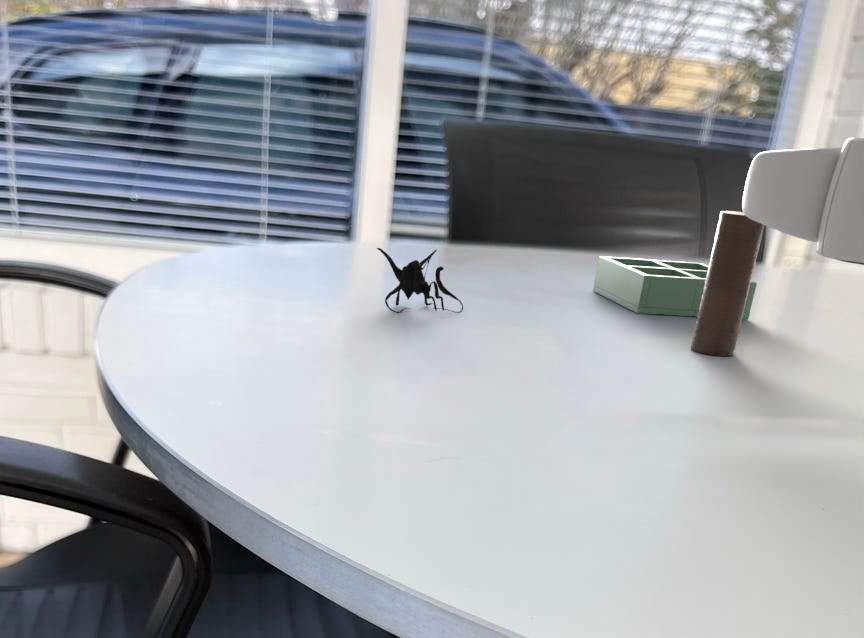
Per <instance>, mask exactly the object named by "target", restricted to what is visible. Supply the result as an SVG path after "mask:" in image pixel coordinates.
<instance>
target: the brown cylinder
mask: <svg viewBox="0 0 864 638" xmlns="http://www.w3.org/2000/svg"><path fill="white" fill-rule="evenodd" d="M764 228H765V225H763V224H761V223H758V222H756V221H754V220H751V219H749V218H748V217H747V216H745V214H744V213H743V211H736V210H735V211H734V210H721V211H720V213H719V217H718V221H717V225H716V231H715V235H714V240H713V245H712V249H711V253H710V258H709V263H708V265H709V267H708V271H707V276H706V280H705V285H704V289H703V294H702V299H701V303H700V308H699V312H698V317H696V321H695V327H694V331H693V336H692V341H691V345H690V349H691V350H692V351H694V352H696V353H699V354H704V355H707V354H708V356H714V357H731V356H733V355H734V354H735V351H736V347H737V343H738V342H737V341H738V338H739V334H740V329H741V325H742V321H743V319H742V317H743V313H744V309H745V305H746V301H747V296H748V292H749V288H750V284H751V281H753V276H754V271H755V266H756V262H757V259H758V254H759V250H760V245H761V242H762V237H763V234H764Z"/></svg>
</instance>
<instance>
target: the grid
mask: <svg viewBox="0 0 864 638" xmlns="http://www.w3.org/2000/svg"><path fill="white" fill-rule="evenodd" d="M708 267H709V264H706V263H703V262H694V261H693V262H692V261H677V260H663V259H661V260H660V259H646V258H634V257H633V258H632V257H619V256H604V255H599V256H598V259H597V266H596V271H595V277H594V283H593V289H592V291H593V292H594V293H596V294H598V295H600V296H602V297H605V298H606V299H608V300H610V301H612V302H614V303H616V304H618V305H620V306H622V307H624V308H625V309H628V310H630V311H631V312H634V313H636V314H640V315H656V314H664V315H663V316H674V315H676V316H677V315H678V316H677V317H693V316H694V317H695V318H697V317H698V312H699V308H700V303H701V299H702V294H703V289H704V285H705V280H706V276H707V271H708ZM757 284H758V283H757V282H755V281H754V280H751V284H750V288H749V292H748V296H747V301H746V305H745V309H744V313H743V317H742V320H746V321H747V320H748V321H749V318H750V313H751V308H752V305H753V300H754V297H755V293H756V288H757ZM665 314H666V315H665Z"/></svg>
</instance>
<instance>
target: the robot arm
mask: <svg viewBox="0 0 864 638" xmlns="http://www.w3.org/2000/svg"><path fill="white" fill-rule="evenodd" d="M743 190H744V191H743V195H742V202H741V210H742V212H743V213H744V214H745V216H747V217H748V218H749V219H751V220H754V221H756V222H758V223H761V224H763V225H764V227H768V228H769V229H773V230H775V231H778V232H781V233H783V234H785V235H789V236H792V237H795V238H797V239H801V240H805V241H808V242H812V243H816V248H815V249H816V250H815V251H816V253H817V254H818V255H819V256H821V257H824V258H827V259H832V260H837V261H840V262H844V263H848V264H849V263H850V264H856V265H862V266H864V137H856V136H855V137H854V136H851V137H848V138H847V139H846V140H845V141H844V143H843V146H842V147H813V148H811V147H810V148H791V149H775V150H766V151H762V152H759V153H757V154H756V155H755V157H754V158H753V160H752V161H751V163H750V166H749V170H748V172H747V177H746V180H745V184H744V189H743Z"/></svg>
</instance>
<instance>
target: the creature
mask: <svg viewBox="0 0 864 638" xmlns="http://www.w3.org/2000/svg"><path fill="white" fill-rule="evenodd" d="M376 250H378V251H379V252H380V253H382V255H383V256H384V257H385V259H386V260H387V261H388V263H389V265H390V267H391V269H392V271H393V274H394V276H395V278H396V279H397V281H398V282H399V284H398V285H397V286H396V287H395V288H394V289H392V290H391V291H390V292H388V294H387V295H386V296H385V299H384V303H385V306H386V307H387V309H388V310H390V311H391V312H393V313H395V314H400V313H402V312H403V311H404V310H409V309H412V308H411V307H405V306H402V305H400V294H401V291H402V292H403V293H404V295H405V298H406V299H407V300H409V299H410V298H411V297H412V295H413V294H414V293H415V295H417V296H418V295H421V294H423V298H424V299H423V300H424V304H425V306H428V307H429V306H431V305H433V308H432V309H434V311H436V312H437V311H438V310H442V311H443V312H444V311H445V310H446V311H449V312H451V313H455V314H460V313H462V312H463V310H464V305H463V303H462V301H461V300H460V298H458V297H457V296H456V295H454V294H453V293H452V292H450V291H449V290H448V289H447V288H446V287H445V286H444V284H443V282H442V280H441V271H444V269H445V268H444V267H443V266H438V267H437V268H436V269H435V274H434V275H435V281H434V280H433V281H431V282H430V283H428V281H426V274H427V271H428V267H429V263H430V261H431V259H432V257H433V256H434V255H435V253H436V252H437V250H438V249H435V250H433V252H431V253H430V254H429V255H428V256H426V257H425V258H424V259H423V260H421V261H419V260H418V259H415V260H412V261H410V262H408V264H407V265H404V266H403V267H402V269H401V268H399V267H398V266H397V265H396V263H395V261H394V260H393V258H392V257H391V256H390V255H389V253H387V251H384V250H383V249H382V248H380V247H377V248H376ZM426 265H427V267H426ZM425 267H426V271H425V273H424V274H423V270H424V269H425ZM432 284H433V288H434V296H435V297H433V296H432V295H430V294H431V291H432V290H431V288H432ZM439 290H440V292H441V293H442V294H444V295H446V296H449V297H450V298H452V299H454V300H456V301H458V302H459V303H460V305H461V310H460V311H454V310H451V309H447V308H445V306H444V298H443V296H442V295H440V294H439ZM394 294H396V299H395V306H397V307H398V306H400V307H401V308H402V309H400V310H399V311H397V310H394V309H393V308H391V307H390V306H389V304H388V300H389V299H390V298H391V296H392V295H394ZM429 299H432V301H433V303H432V302H430V303H428V300H429ZM436 300H440V304H441V307H437V304H436ZM437 309H438V310H437Z"/></svg>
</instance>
